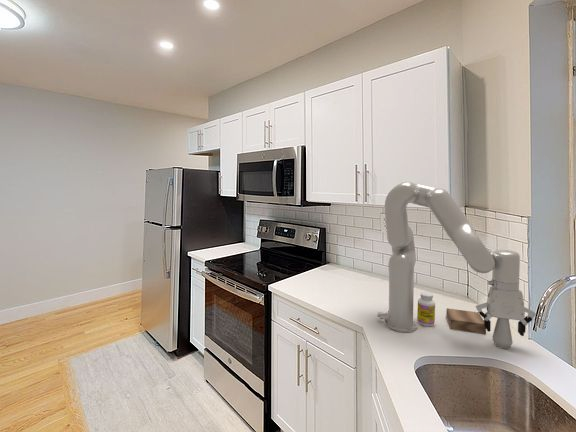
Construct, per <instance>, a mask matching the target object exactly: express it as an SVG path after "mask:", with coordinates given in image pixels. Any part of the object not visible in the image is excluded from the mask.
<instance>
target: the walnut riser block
mask: <svg viewBox="0 0 576 432" xmlns="http://www.w3.org/2000/svg"><path fill="white" fill-rule="evenodd" d="M445 311H446V314H445V317H446V319H447V322H448V325H449V329H450V330H455V331H461V332H469V333H473V334H474V333H475V334H482V335H486V334H487V329H486V328H485V327H484V318H483V317H482V316H481V315H480V314H479V312H478V311H470V310H461V309H454V308H446V310H445Z"/></svg>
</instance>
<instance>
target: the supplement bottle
mask: <svg viewBox="0 0 576 432" xmlns="http://www.w3.org/2000/svg"><path fill="white" fill-rule="evenodd" d="M433 298H434V295H433V294H432V293H431V292H425V291H424V292H423V291H422V292H420V298H418V300H417V311H416V312H417V315H416V316H417V317H416V321H417V323H418V324H419V325H421V326H424V327H432V326H433V327H434V326H435V320H436V317H435V316H436V302H435V300H433Z"/></svg>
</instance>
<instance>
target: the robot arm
mask: <svg viewBox="0 0 576 432" xmlns="http://www.w3.org/2000/svg"><path fill="white" fill-rule="evenodd" d="M408 204H413V205H418V206H422V207H425V208H429V209H430V211H431V212H432V215H434V217H435V218H436V220H437V221H438V223H439V224H440V225H441V227H442V229H443V230H444V232H446V235H447V236H448V237H449V238H450V240H451V241H452V242H453V243H454V245H455V246H456V248H457V250H458V252H460V254H461V255H462V257H463V258H464V259H465V261H466V263H467V264H468V265H469V267H470V269H472V270H473V271H474V272H476V273H479V274H487V273H490V272H491V273H492V275H491V276H492V277H491V280H487V282H486V283H487V285H488V286H489V285H490V286H489V290H488V294H487V298H486V300H487V301H486V302H482V303H480V304H477V305H475V308H476V310H477V312H478V313H479V314H480V316H481V317H482V319H483V320H484V327H485V328H486V332H491V323H492V322H491V320H490V319H492V318H496V319H497V318H504V319H509V320H513V321H518V322H517V333H518V334H519V335H520V336H522V337H524V336H525V333H526V326H527V325H528V324H529V323H531V322H532V321H533V319H534V318H535V317H536V315H537V313H536V312H534V310H531V309H529V308H527V307H525V302H524V301H525V300H524V294H523V291H522V290H521V289H520V269H521V267H520V265H521V256H520V254H519V253H518V252H517V251H515V250H509V249H508V250H507V249H498V250H497V249H496V250H495V249H489V248H487V247H486V246H485V244H484V243H483V242H482V240H481V238H480V237H479V236H478V235H477V233H476V231H475V230H474V227H473V226H472V224H471V222H470V221H469V219H468V217H467V216H466V215H465V214H464V212H463V211H462V210H461V208H460V207H459V205H458V204H457V203H456V201H455V199H454V198H453V197H452V196H451V194H450V193H449V191H447V190H446V189H443V188H439V187H438V188H437V187H432V186H427V185H422V184H418V183H414V182H412V181H411V182H410V181H402V182H401V183H399V184H397V185H395V186H394V187H393V188H391V190H389V192H388V193H387V195H386V197H385V200H384V216H385V226H386V238H387V242H388V244H389V245H390V246H391V251H392V254H391V256H390V257H389V260H388V267H387V268H388V311H387V312H380V311H378V312H377V318H379V319H381V320H384V325H385V326H386V327H387V328H388V329H390V330H393V331H395V332H399V333H413V332H415V331H416V330H417V329H418V325H417V323H416V322H415V321H414V293H415V291H414V290H415V289H414V287H415V285H414V284H415V280H414V279H415V278H414V276H415V275H414V274H415V273H414V272H415V264H416V260H417V256H416V254H417V253H416V248H415V240H414V239H415V238H414V232H413V230H412V228H411V227H410V226H409V220H408V211H407V207H408ZM483 309H486V312H484V311H483ZM526 313H527V315H525V314H526Z"/></svg>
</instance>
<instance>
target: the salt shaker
mask: <svg viewBox="0 0 576 432" xmlns="http://www.w3.org/2000/svg"><path fill="white" fill-rule="evenodd" d="M491 338H492V341H493V343H494V345H495V346H496V347H497V348H499V349H503V350H509V348H511V346H512V345H513V337H512V329H511V324H510V319H504V318H496V323H495V326H494V329H493V333H492V337H491Z"/></svg>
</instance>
